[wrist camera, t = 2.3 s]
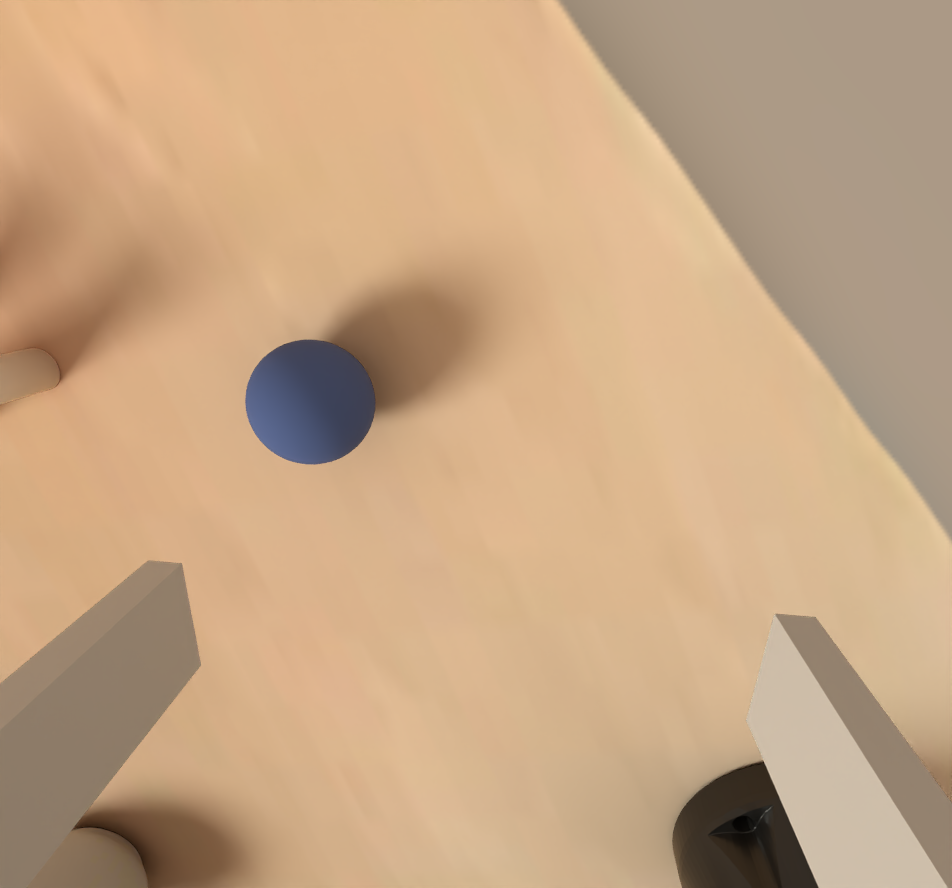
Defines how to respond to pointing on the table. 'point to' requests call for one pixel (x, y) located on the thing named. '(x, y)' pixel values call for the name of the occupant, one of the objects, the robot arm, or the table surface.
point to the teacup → (92, 862)
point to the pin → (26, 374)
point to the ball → (310, 402)
